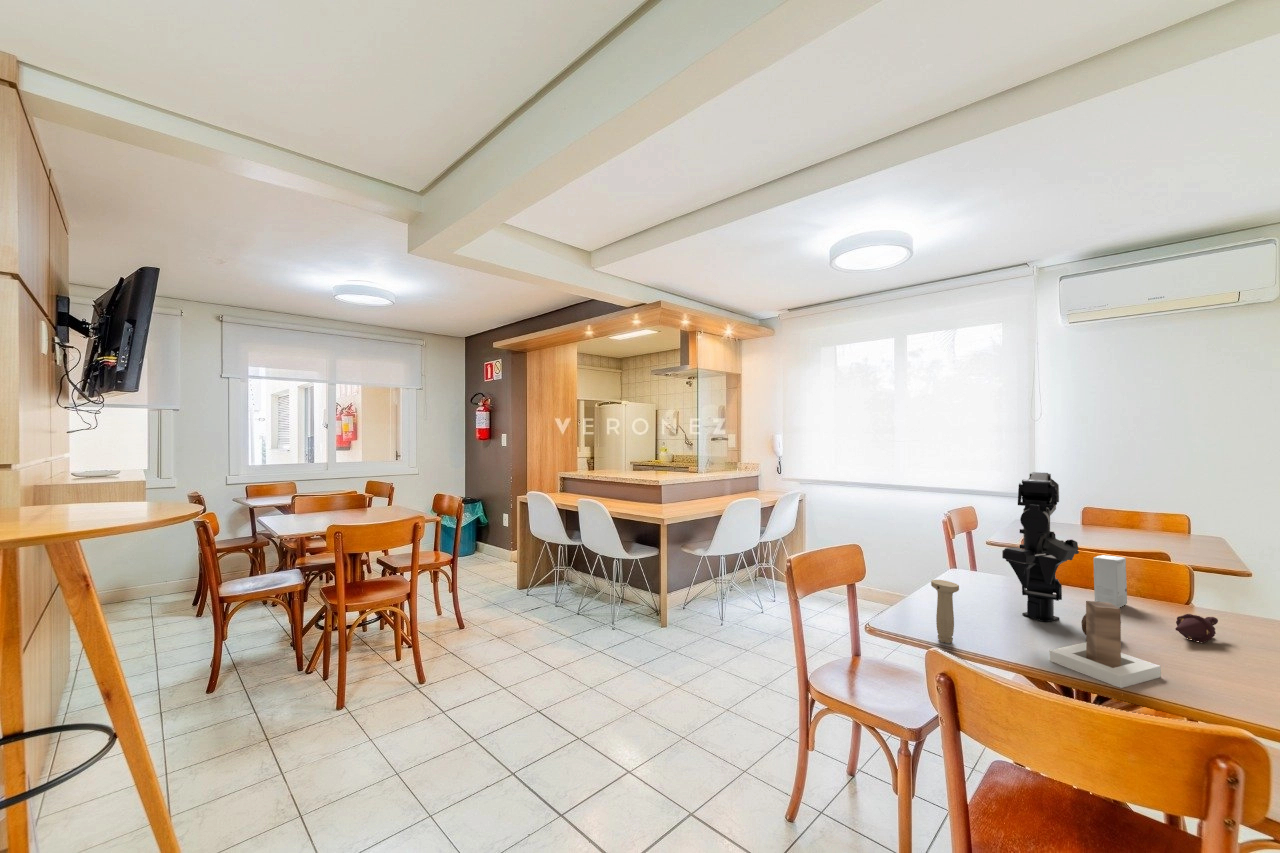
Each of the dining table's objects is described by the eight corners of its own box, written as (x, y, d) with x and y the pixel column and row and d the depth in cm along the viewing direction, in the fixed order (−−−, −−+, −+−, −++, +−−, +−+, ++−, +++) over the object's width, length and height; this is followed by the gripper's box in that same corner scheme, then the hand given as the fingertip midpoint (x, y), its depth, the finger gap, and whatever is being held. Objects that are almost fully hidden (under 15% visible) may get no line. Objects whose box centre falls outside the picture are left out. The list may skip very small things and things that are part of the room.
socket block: (1088, 652, 129) (1088, 641, 129) (1160, 677, 116) (1160, 665, 116) (1049, 660, 124) (1049, 650, 124) (1120, 688, 111) (1120, 676, 111)
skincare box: (1118, 610, 159) (1117, 560, 159) (1092, 604, 164) (1092, 556, 164) (1127, 604, 163) (1127, 557, 163) (1102, 599, 168) (1102, 553, 168)
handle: (940, 635, 140) (940, 578, 140) (963, 644, 134) (963, 585, 134) (927, 638, 138) (927, 581, 138) (950, 647, 132) (949, 587, 132)
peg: (1086, 660, 123) (1086, 600, 123) (1110, 663, 122) (1109, 602, 122) (1096, 669, 119) (1096, 607, 119) (1121, 671, 117) (1120, 609, 117)
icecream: (1200, 625, 129) (1237, 623, 134) (1164, 608, 136) (1200, 607, 141) (1189, 650, 131) (1226, 647, 135) (1154, 632, 138) (1190, 630, 142)
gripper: (1045, 534, 130) (1045, 598, 129) (1093, 530, 136) (1094, 590, 136) (1000, 526, 140) (1001, 585, 140) (1047, 523, 147) (1047, 579, 146)
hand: (1036, 585), depth 140 cm, fingers open, 9 cm apart
